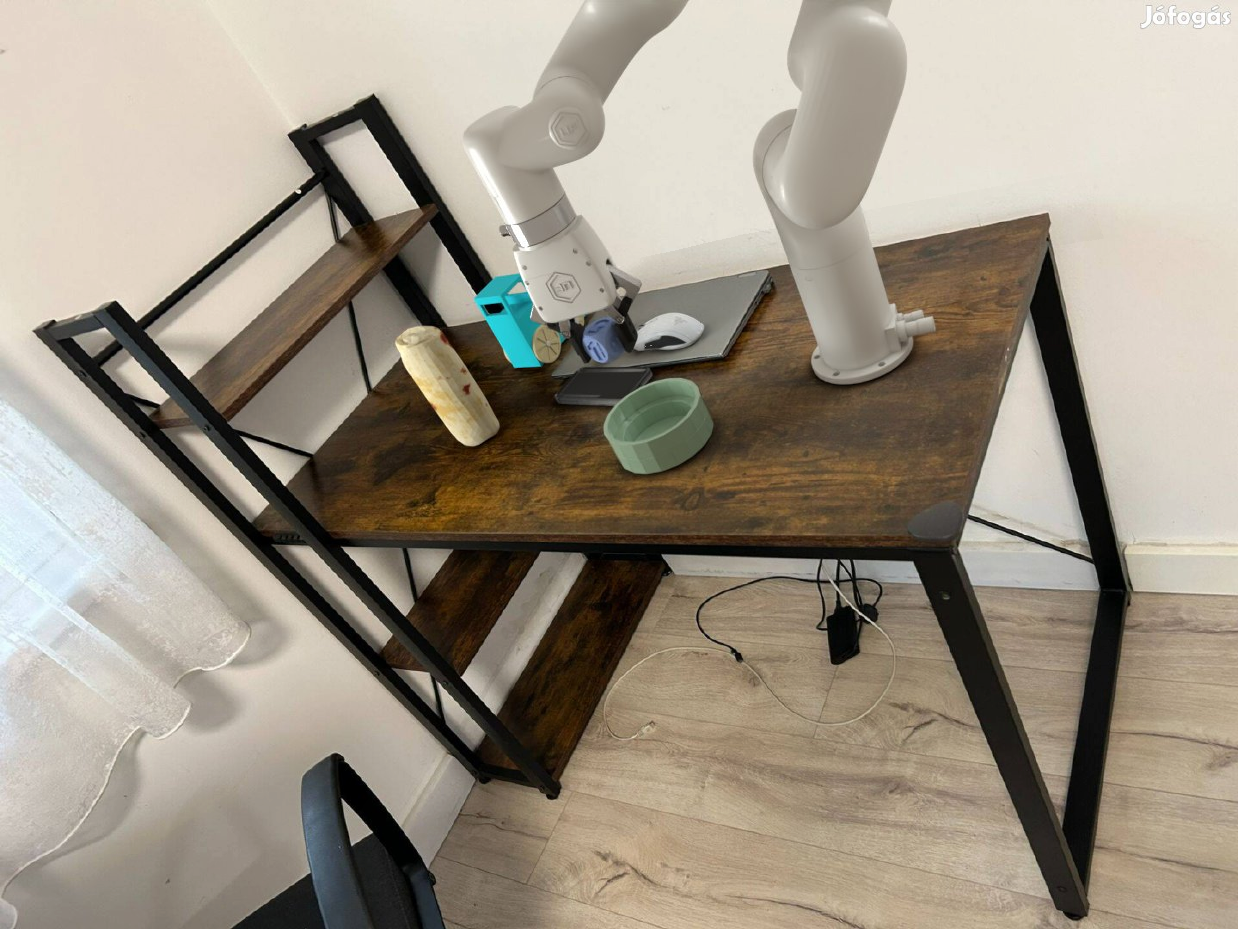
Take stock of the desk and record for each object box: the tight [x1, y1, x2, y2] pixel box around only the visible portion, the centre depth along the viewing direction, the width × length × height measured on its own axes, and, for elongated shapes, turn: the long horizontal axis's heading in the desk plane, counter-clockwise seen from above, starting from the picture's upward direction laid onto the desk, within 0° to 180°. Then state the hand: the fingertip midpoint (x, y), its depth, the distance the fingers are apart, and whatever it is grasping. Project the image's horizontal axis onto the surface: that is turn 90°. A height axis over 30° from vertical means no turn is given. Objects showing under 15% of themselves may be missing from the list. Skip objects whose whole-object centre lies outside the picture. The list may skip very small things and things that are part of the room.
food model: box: [395, 325, 500, 447], centre depth 132 cm, size 10×7×20 cm
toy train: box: [473, 272, 587, 369], centre depth 148 cm, size 8×17×15 cm, turn 148°
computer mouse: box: [633, 312, 705, 352], centre depth 136 cm, size 10×18×4 cm, turn 61°
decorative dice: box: [582, 317, 626, 364], centre depth 106 cm, size 4×4×4 cm
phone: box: [554, 366, 654, 407], centre depth 131 cm, size 8×1×15 cm
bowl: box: [603, 377, 714, 475], centre depth 112 cm, size 13×13×6 cm
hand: (610, 350), depth 107 cm, fingers closed on decorative dice, 5 cm apart
